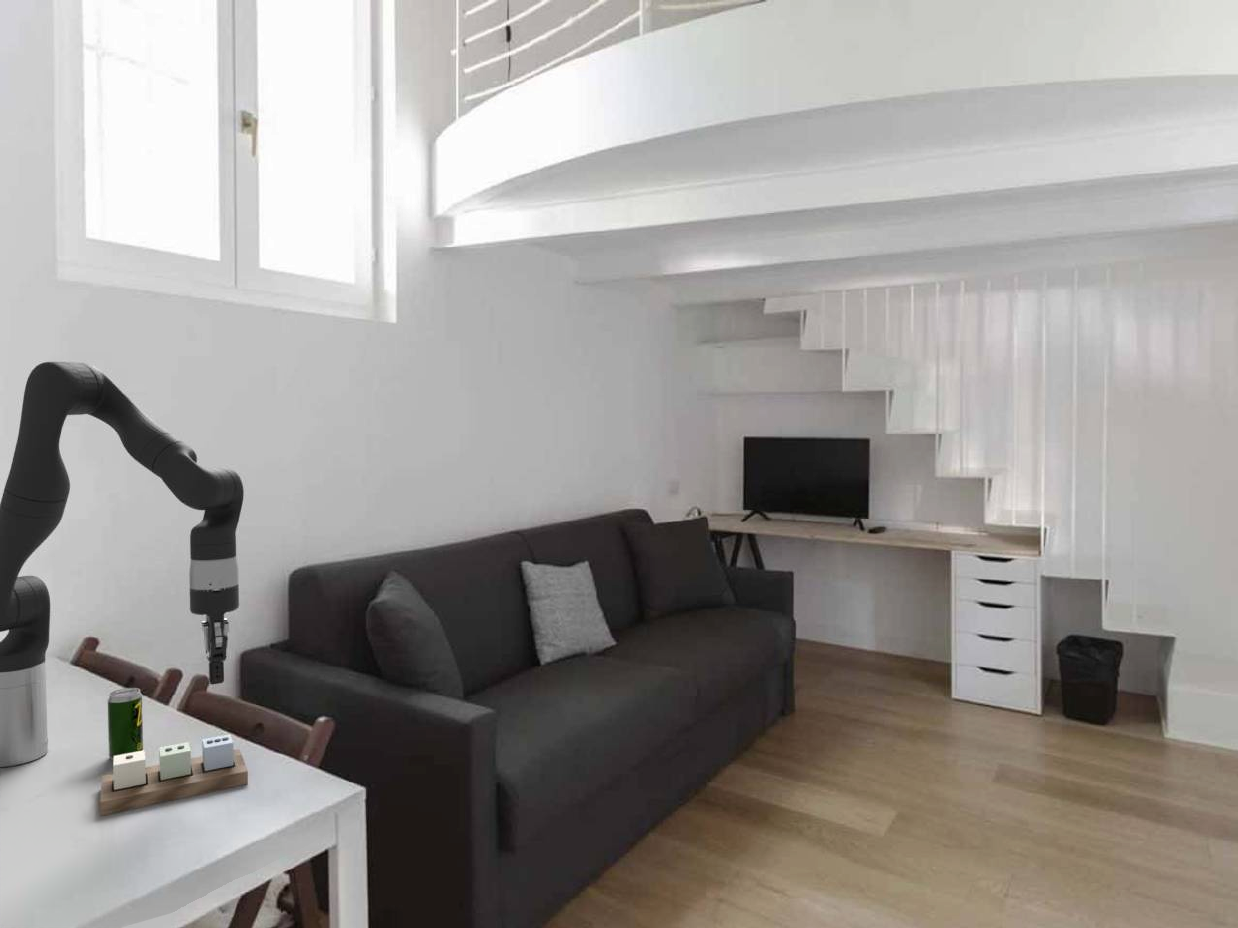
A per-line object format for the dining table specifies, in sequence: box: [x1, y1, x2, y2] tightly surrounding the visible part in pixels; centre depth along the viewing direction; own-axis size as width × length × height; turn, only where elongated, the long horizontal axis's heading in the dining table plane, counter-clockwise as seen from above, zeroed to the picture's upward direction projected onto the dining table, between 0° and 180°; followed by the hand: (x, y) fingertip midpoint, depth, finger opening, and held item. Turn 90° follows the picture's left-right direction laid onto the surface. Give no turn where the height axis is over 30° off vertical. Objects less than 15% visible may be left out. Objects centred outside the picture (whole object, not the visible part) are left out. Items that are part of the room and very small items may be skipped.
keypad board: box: [99, 748, 249, 817], centre depth 132 cm, size 21×11×2 cm, turn 123°
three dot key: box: [201, 734, 234, 771], centre depth 135 cm, size 4×4×4 cm
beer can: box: [107, 687, 144, 762], centre depth 144 cm, size 5×5×12 cm
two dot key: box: [158, 741, 192, 780], centre depth 132 cm, size 4×4×4 cm
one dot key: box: [112, 749, 147, 790], centre depth 128 cm, size 4×4×4 cm
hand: (216, 682), depth 135 cm, fingers closed
